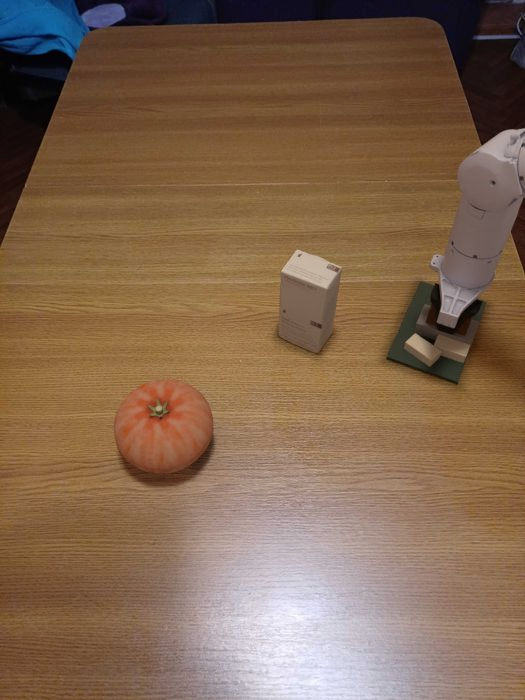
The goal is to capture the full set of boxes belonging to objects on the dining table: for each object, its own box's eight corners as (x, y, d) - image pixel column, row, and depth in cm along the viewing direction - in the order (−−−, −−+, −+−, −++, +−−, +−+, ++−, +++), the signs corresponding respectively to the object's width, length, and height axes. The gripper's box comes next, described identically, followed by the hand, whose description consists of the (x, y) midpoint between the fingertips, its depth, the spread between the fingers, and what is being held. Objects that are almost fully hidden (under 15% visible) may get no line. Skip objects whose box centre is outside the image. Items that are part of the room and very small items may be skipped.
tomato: (102, 442, 70) (84, 406, 64) (175, 386, 75) (165, 346, 68) (162, 506, 66) (149, 473, 59) (236, 442, 70) (231, 405, 64)
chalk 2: (467, 351, 76) (470, 344, 75) (463, 363, 75) (466, 356, 74) (436, 340, 77) (438, 333, 76) (431, 352, 76) (433, 345, 75)
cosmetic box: (277, 337, 79) (276, 271, 69) (293, 314, 81) (295, 246, 72) (320, 356, 77) (325, 290, 67) (335, 331, 79) (343, 264, 70)
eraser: (475, 331, 78) (484, 308, 74) (468, 351, 76) (477, 328, 73) (421, 313, 80) (428, 290, 76) (413, 333, 78) (420, 310, 74)
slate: (485, 304, 81) (486, 301, 81) (457, 384, 74) (458, 382, 74) (419, 283, 84) (420, 280, 83) (385, 359, 76) (386, 356, 76)
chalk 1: (439, 357, 76) (441, 351, 75) (429, 367, 75) (431, 360, 74) (413, 339, 77) (415, 332, 76) (403, 348, 77) (405, 341, 76)
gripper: (458, 190, 70) (434, 273, 81) (419, 273, 63) (399, 353, 74) (520, 206, 68) (488, 289, 79) (489, 295, 61) (457, 373, 72)
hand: (449, 321), depth 76 cm, fingers closed on eraser, 2 cm apart
